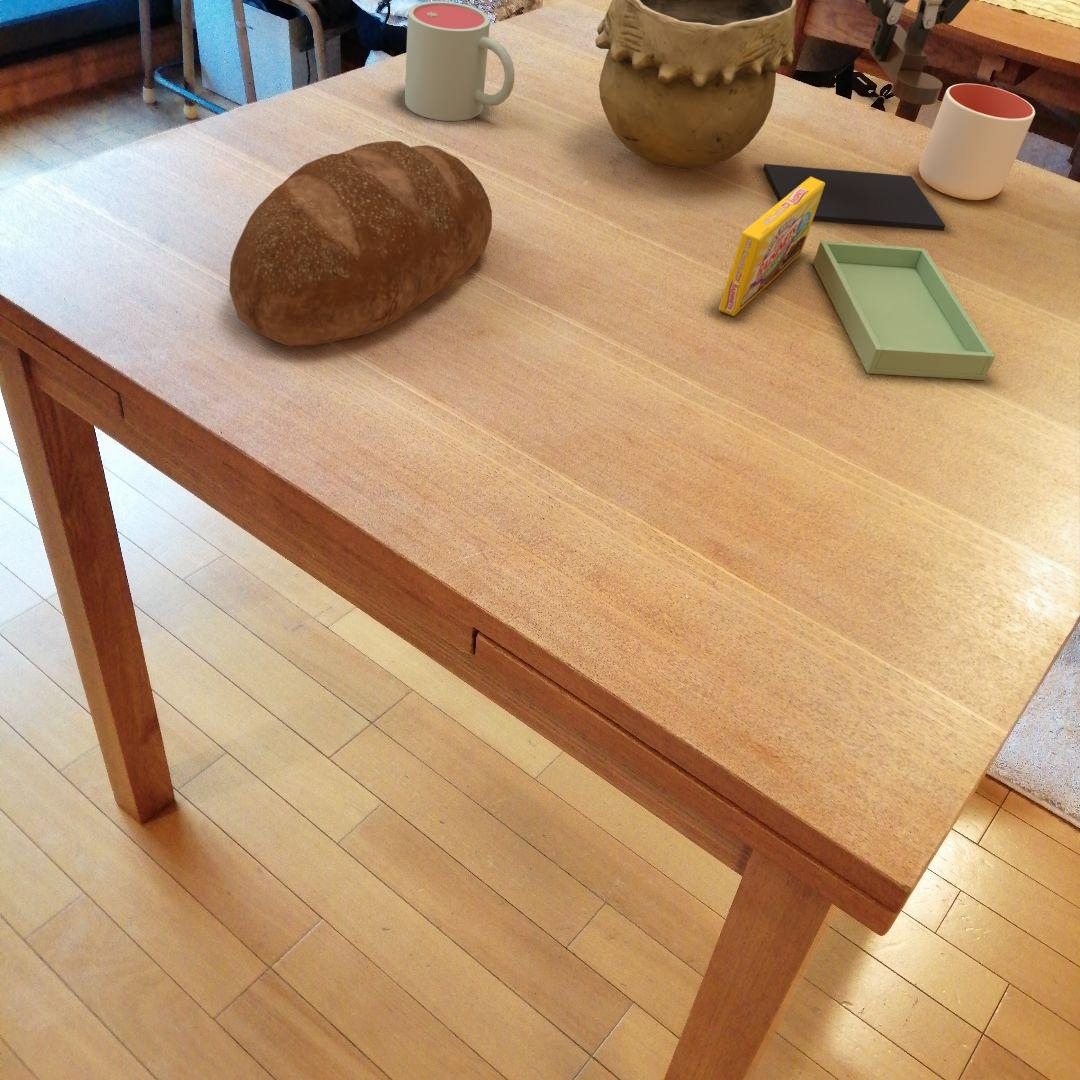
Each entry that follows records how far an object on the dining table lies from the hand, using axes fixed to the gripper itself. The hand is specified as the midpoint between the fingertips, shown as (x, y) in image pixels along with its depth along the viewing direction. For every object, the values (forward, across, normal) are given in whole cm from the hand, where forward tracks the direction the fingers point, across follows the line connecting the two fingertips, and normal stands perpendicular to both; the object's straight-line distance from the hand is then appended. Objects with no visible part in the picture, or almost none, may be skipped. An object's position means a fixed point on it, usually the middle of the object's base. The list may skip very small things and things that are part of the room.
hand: (892, 59), depth 114 cm
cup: (+15, +15, +5) cm, 22 cm away
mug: (+15, -44, +14) cm, 49 cm away
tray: (+15, -3, -26) cm, 30 cm away
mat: (+15, 0, -1) cm, 15 cm away
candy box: (+15, -15, -21) cm, 30 cm away
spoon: (+1, 0, -3) cm, 3 cm away
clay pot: (+15, -20, +5) cm, 26 cm away
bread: (+15, -53, -25) cm, 60 cm away
